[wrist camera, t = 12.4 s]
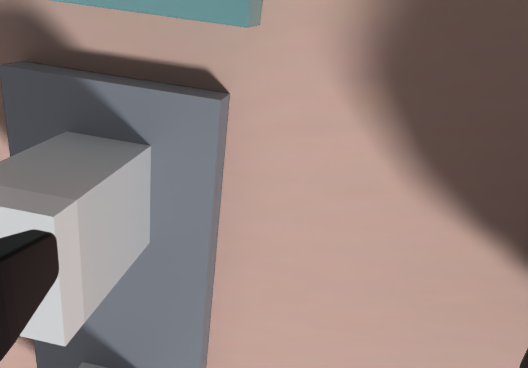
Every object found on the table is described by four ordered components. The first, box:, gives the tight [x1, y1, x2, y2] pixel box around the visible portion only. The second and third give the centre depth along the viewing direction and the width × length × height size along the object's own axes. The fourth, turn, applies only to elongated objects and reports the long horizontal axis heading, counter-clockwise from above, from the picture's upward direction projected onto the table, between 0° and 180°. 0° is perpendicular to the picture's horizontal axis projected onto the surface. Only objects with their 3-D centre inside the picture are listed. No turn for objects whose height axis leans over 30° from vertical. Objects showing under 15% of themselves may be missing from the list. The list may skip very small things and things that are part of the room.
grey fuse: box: [0, 131, 151, 346], centre depth 17 cm, size 4×5×7 cm
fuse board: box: [0, 61, 230, 368], centre depth 24 cm, size 10×24×2 cm, turn 173°
